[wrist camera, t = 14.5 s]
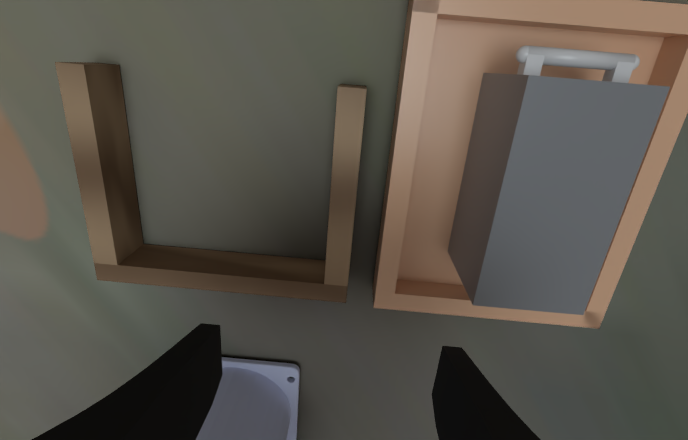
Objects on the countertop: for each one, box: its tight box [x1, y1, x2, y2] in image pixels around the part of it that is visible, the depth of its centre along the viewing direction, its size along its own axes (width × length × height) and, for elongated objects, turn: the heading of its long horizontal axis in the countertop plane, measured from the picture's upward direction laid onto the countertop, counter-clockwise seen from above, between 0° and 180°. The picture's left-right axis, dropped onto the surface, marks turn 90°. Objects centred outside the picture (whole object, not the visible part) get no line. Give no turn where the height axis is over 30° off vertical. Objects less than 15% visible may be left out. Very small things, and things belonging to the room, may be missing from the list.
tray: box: [373, 0, 688, 329], centre depth 18 cm, size 15×12×2 cm
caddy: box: [448, 45, 670, 315], centre depth 16 cm, size 10×5×5 cm, turn 176°
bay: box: [55, 62, 367, 303], centre depth 19 cm, size 10×13×2 cm
